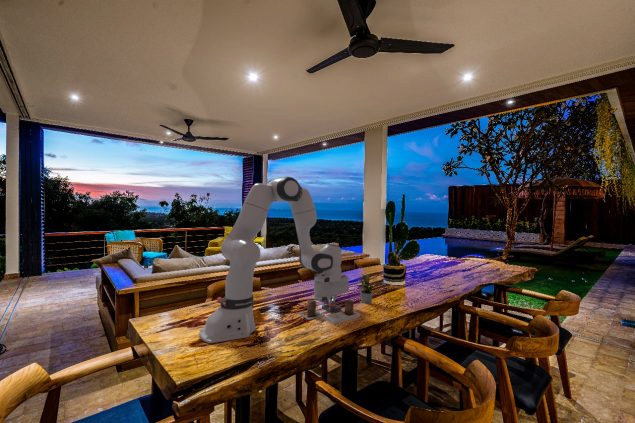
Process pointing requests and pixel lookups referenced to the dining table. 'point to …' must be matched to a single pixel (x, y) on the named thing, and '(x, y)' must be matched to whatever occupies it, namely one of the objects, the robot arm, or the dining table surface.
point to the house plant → (366, 290)
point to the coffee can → (322, 297)
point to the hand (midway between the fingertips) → (331, 303)
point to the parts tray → (312, 317)
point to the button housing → (334, 309)
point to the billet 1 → (311, 308)
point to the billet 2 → (349, 307)
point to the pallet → (340, 317)
